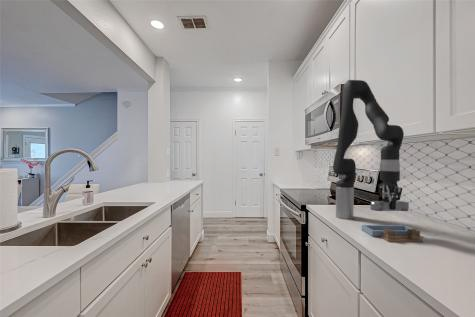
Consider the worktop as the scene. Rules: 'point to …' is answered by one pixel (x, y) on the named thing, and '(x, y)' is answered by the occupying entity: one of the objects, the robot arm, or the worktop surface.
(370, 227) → the slate-blue tray
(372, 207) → the steel dumbbell
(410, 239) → the wooden plank with blocks
